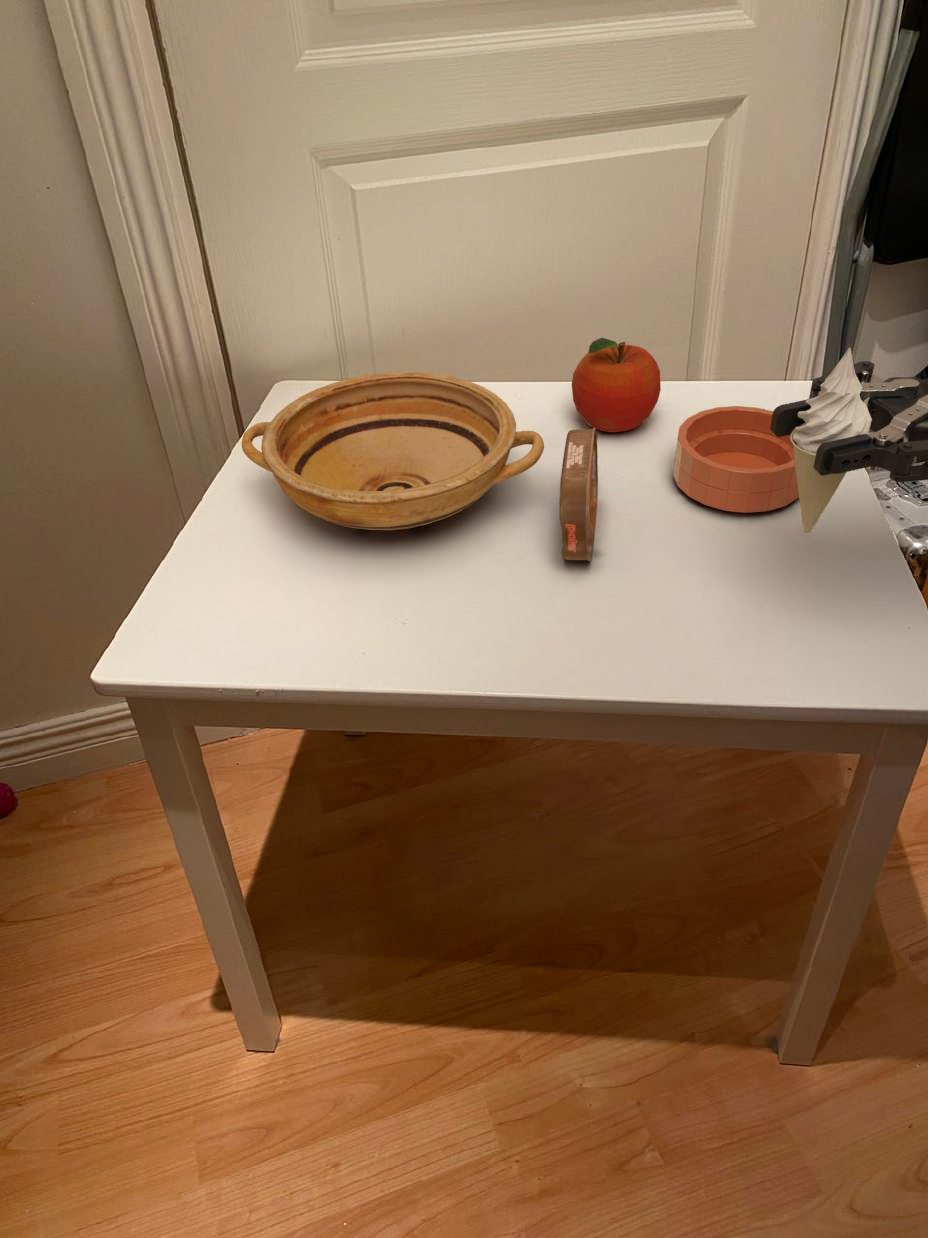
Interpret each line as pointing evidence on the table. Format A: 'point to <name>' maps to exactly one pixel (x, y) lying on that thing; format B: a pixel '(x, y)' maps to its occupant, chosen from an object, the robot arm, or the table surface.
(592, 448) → the tin
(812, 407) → the ice cream cone
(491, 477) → the ceramic bowl
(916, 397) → the robot arm
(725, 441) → the pot
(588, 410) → the fruit
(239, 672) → the table surface
